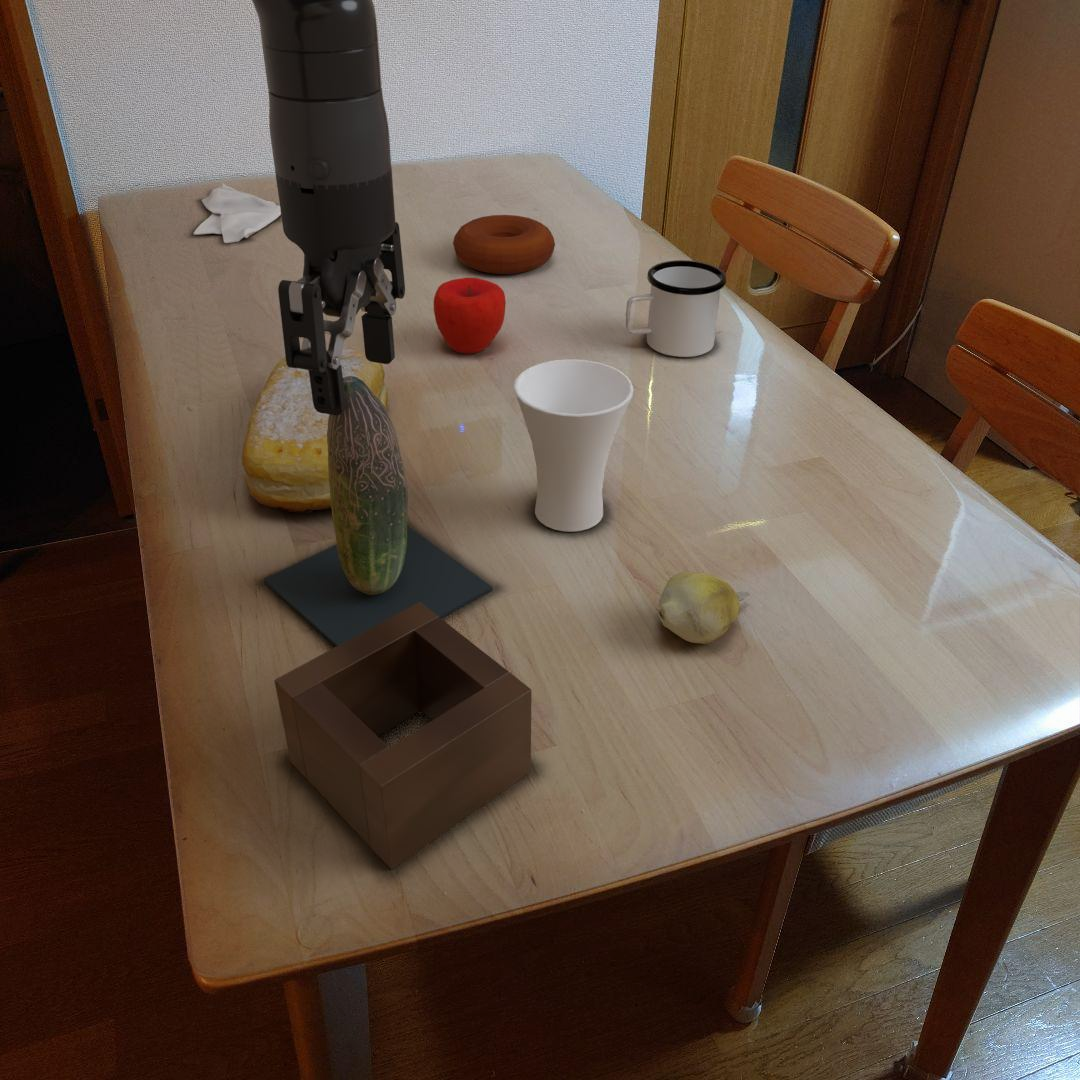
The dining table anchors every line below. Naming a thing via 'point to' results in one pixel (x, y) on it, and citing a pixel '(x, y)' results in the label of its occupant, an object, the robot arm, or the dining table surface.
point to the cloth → (236, 214)
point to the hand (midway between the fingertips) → (356, 385)
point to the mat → (350, 612)
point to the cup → (571, 435)
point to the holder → (423, 756)
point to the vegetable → (367, 490)
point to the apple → (469, 313)
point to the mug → (681, 307)
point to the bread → (296, 436)
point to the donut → (504, 244)
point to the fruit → (698, 606)
